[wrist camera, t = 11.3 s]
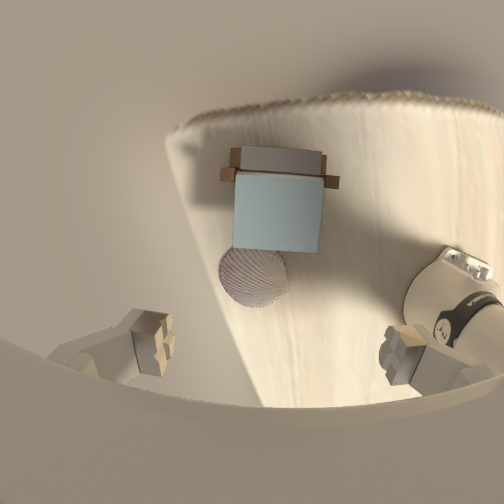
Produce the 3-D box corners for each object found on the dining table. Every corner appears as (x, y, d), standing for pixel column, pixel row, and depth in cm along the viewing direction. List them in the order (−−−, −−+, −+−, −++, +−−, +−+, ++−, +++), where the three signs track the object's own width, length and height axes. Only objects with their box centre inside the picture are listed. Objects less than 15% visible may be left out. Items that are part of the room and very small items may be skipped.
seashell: (282, 323, 39) (214, 314, 37) (274, 304, 44) (213, 294, 42) (305, 259, 36) (231, 244, 33) (293, 246, 41) (228, 231, 38)
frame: (324, 155, 35) (341, 150, 26) (322, 185, 36) (338, 189, 28) (232, 148, 35) (222, 141, 27) (230, 179, 36) (220, 180, 28)
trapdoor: (317, 154, 32) (326, 151, 27) (310, 242, 35) (317, 253, 30) (241, 149, 32) (237, 145, 27) (237, 237, 35) (232, 247, 30)
